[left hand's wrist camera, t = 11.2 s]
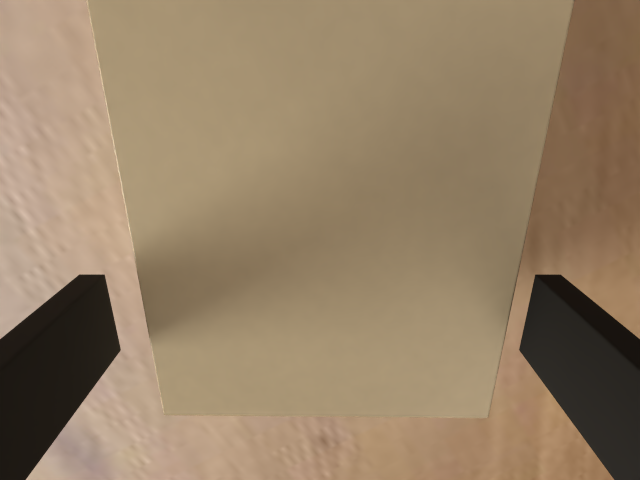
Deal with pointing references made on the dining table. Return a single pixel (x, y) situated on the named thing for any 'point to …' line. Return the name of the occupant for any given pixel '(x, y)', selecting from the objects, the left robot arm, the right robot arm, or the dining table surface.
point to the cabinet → (328, 194)
